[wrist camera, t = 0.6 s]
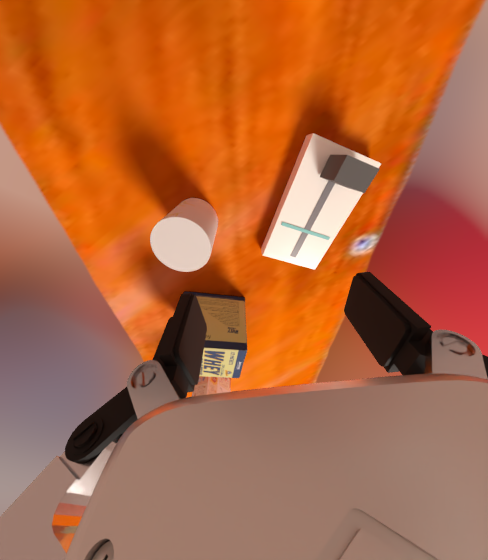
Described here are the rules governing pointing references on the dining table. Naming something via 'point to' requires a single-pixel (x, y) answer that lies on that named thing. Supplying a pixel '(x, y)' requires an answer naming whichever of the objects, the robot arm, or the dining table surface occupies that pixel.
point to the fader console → (311, 206)
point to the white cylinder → (185, 235)
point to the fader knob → (349, 172)
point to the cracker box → (211, 385)
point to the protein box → (223, 335)
